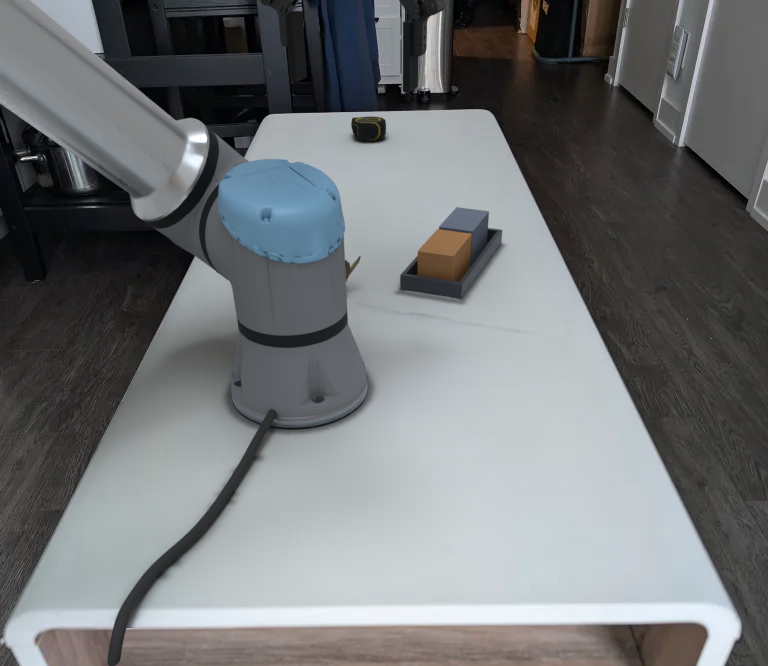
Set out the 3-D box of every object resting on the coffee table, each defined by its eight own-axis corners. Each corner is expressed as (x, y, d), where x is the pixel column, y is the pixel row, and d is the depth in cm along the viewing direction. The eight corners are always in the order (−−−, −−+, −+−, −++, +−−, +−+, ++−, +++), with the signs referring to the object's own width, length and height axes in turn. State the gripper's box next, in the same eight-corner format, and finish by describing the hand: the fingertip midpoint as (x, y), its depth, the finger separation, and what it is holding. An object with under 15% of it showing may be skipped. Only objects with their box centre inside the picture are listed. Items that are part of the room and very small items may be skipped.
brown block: (452, 292, 107) (453, 256, 104) (417, 286, 109) (417, 251, 105) (469, 268, 113) (471, 233, 109) (436, 263, 114) (437, 228, 111)
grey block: (471, 265, 113) (472, 231, 110) (437, 260, 115) (438, 226, 112) (486, 244, 119) (489, 211, 116) (455, 240, 120) (456, 206, 117)
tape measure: (384, 133, 165) (384, 113, 162) (387, 142, 159) (387, 122, 157) (351, 134, 164) (350, 115, 162) (353, 144, 159) (352, 124, 157)
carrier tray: (461, 302, 106) (461, 284, 104) (400, 292, 108) (400, 274, 107) (501, 246, 120) (502, 229, 118) (446, 238, 122) (446, 222, 121)
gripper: (484, -168, 74) (470, 85, 88) (248, -164, 81) (270, 68, 95) (459, -167, 69) (448, 102, 82) (209, -164, 76) (238, 83, 90)
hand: (353, 84), depth 89 cm, fingers open, 13 cm apart
